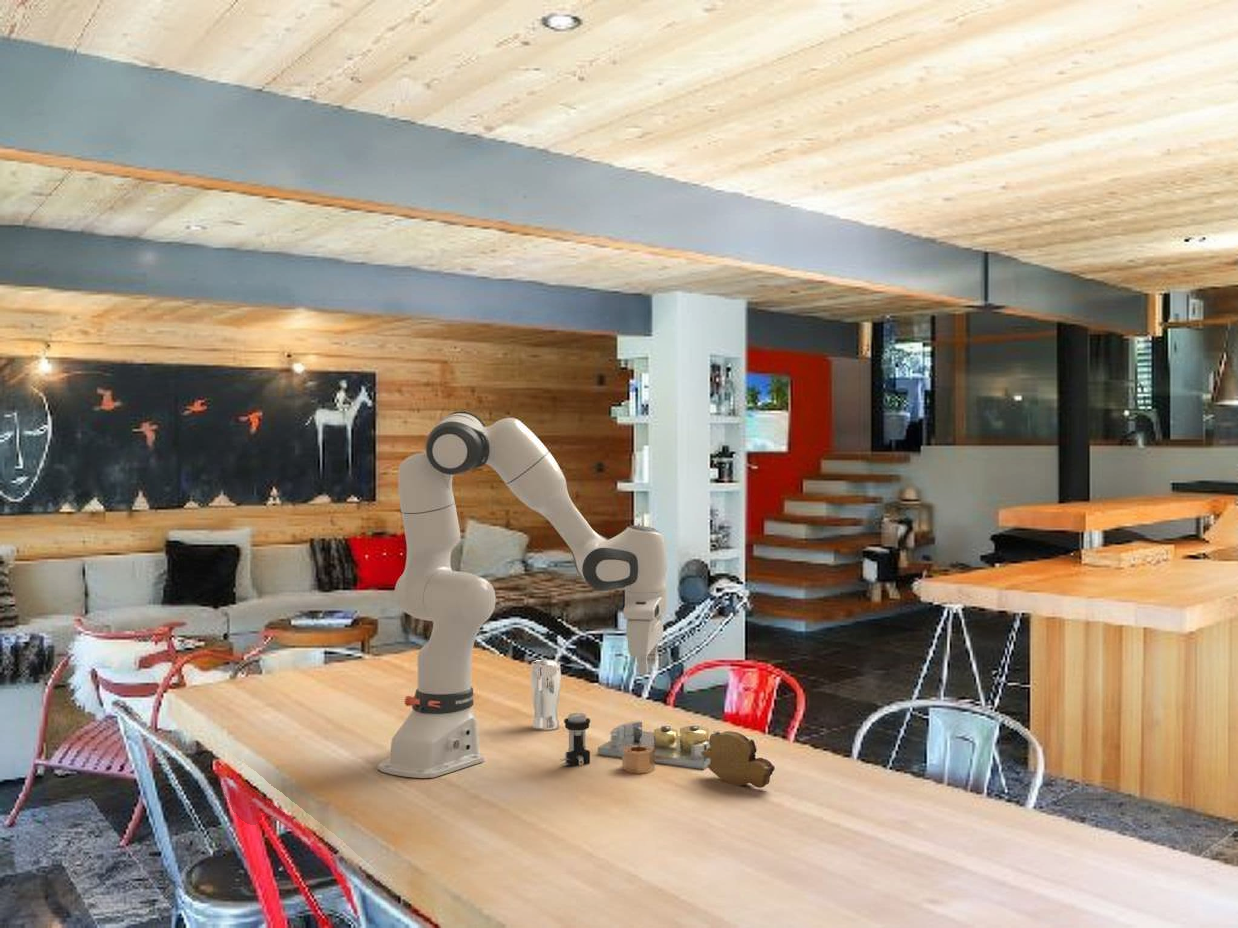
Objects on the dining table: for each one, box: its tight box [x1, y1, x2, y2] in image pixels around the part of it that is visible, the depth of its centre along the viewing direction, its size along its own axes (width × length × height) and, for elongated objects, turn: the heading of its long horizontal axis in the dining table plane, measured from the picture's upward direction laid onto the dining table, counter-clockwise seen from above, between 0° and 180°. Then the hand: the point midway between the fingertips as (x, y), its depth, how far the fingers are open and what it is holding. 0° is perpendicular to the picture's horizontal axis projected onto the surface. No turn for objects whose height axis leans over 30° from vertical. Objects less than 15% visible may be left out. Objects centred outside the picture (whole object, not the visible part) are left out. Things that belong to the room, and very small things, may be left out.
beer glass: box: [530, 659, 562, 731], centre depth 254 cm, size 7×7×15 cm
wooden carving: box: [701, 730, 775, 789], centre depth 212 cm, size 16×5×10 cm, turn 49°
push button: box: [560, 712, 591, 768], centre depth 224 cm, size 7×5×10 cm
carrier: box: [597, 720, 721, 770], centre depth 234 cm, size 16×24×6 cm, turn 64°
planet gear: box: [621, 745, 656, 775], centre depth 221 cm, size 6×6×4 cm
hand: (647, 668), depth 231 cm, fingers open, 8 cm apart
